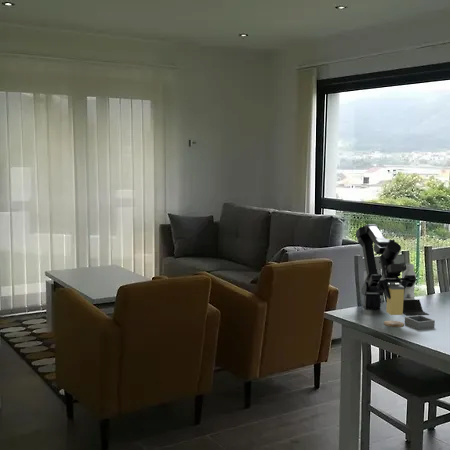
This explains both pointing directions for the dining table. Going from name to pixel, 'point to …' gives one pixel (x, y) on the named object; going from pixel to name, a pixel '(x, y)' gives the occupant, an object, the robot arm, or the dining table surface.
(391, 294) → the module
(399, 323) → the pad
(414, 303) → the black wedge stand
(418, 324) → the case
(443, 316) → the dining table surface
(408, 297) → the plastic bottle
